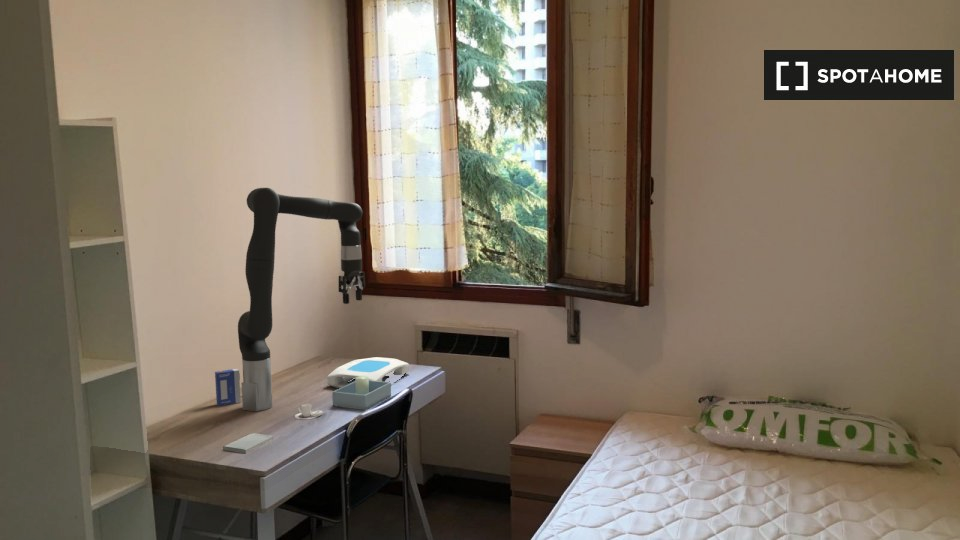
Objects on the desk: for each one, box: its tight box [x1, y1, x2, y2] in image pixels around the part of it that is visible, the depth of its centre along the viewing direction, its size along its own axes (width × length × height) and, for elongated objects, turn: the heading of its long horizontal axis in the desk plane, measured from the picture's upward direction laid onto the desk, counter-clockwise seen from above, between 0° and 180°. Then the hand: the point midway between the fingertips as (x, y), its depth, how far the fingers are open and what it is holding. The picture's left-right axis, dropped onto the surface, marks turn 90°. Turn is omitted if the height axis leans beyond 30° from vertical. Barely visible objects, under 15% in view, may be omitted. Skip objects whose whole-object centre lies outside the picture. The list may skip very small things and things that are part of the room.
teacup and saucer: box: [294, 403, 323, 420], centre depth 243 cm, size 9×8×4 cm
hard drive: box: [222, 432, 274, 454], centre depth 217 cm, size 2×8×12 cm
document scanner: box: [326, 356, 410, 389], centre depth 285 cm, size 21×28×6 cm
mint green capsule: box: [354, 376, 369, 395], centre depth 259 cm, size 5×5×8 cm
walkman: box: [214, 368, 242, 407], centre depth 257 cm, size 8×3×12 cm, turn 123°
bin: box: [331, 380, 392, 411], centre depth 259 cm, size 17×13×5 cm
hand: (352, 301), depth 269 cm, fingers open, 8 cm apart
